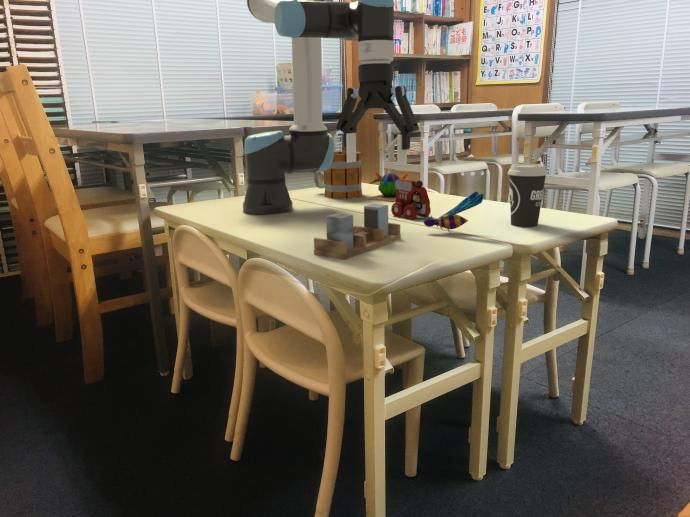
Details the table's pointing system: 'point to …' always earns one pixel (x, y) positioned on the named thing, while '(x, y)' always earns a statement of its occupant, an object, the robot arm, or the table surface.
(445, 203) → the table surface
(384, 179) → the toy animal
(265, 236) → the table surface
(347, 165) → the mug
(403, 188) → the toy fire truck
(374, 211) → the blue gray block
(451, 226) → the toy
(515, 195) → the coffee cup
